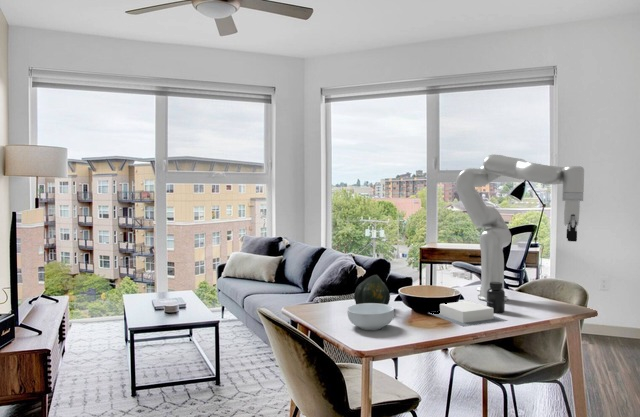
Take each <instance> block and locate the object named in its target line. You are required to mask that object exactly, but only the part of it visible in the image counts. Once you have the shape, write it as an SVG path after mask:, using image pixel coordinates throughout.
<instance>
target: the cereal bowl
mask: <svg viewBox="0 0 640 417" xmlns="http://www.w3.org/2000/svg"><path fill="white" fill-rule="evenodd" d="M346 312H347V318H348V320H349V321H350V323H351V324H353V325H354V326H356V327H358V328H360V329H361V330H365V331H377V330H381V329H383V327H385V326H388V325H389V324H391V322H392V321H393V319H394V318H395V317H394V316H395V308H394V306H392V305H390V304H388V305H386V304H378V303H363V304H356V303H355V304H352V305H349V306H348V307H347V311H346Z"/></svg>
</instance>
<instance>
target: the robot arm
mask: <svg viewBox="0 0 640 417" xmlns="http://www.w3.org/2000/svg"><path fill="white" fill-rule="evenodd" d="M482 163H483V164H482V166H481V167H479V168H477V167H476V168H475V167H473V168H472V167H469V168H464V169H463V170H461V171H460V172H459V174H458V175H457V176H456V180H455V190H456V193H457V195H458V198H459V199H460V201H461V203H462V205H463V206H464V210H465V211H466V213H467V214H468V217H469V218H470V220H471V222H472V224H473V225H474V226H475V227H476V228H480V229H481V228H482V229H483V228H484V231H482V232H481V234H480V236H479V248H480V257H481V258H480V261H481V262H480V267H481V269H480V270H481V271H480V274H481V279H480V281H481V282H480V285H481V286H479V287H477V288H476V291H477V292H479V294H478V295H477V299H479V300H481V301H484V302H487V290H488V289H490V287H489V286H490V282H501V283H502V290H504V291H505V258H504V257H505V256H504V252H503V248H506V247H507V246H509V245H510V243H512V242H511V241H512V233H511V231H510V229H509V227H508V225H507V223H506V221H505V220H504V218H503V216H502V214H501V213H500V211H499V210H498V209H497V208H495V207H493V206H491V205H486V203H485V202H484V201H485V200H483V198H482V196H481V194H480V193H479V192H478V191H477V189H476V188H481V187H485V186H487V185H488V184H490V183H492V182H493V181H494V180H496V179H498V178H500V177H501V176H504V177H506V178H512V179H517V180H524V181H527V182H534V183H537V184H543V185H561V184H562V193H561V194H562V196H561V198H562V199H561V200H562V201H563V202H564V212H563V215H564V216H563V218H564V219H563V225H564V226H566V227H567V228H566V239H567V242H577V240H578V230H577V229H578V228H577V226H579V221H580V212H581V210H580V208H581V206H580V205H581V204H580V203H581V202H584V186H585V169H584V166H579V165H578V166H577V165H571V166H570V165H569V166H558V165H547V164H541V163H536V162H531V161H527V160H525V159H523V158H518V157H517V158H516V157H512V156H506V155H502V154H496V153H495V154H493V153H492V154H489V155H487V156H486V157H485V158H484V160H483V162H482ZM508 298H509V297H508V296H507V295H505V302H506V301H508Z"/></svg>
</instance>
